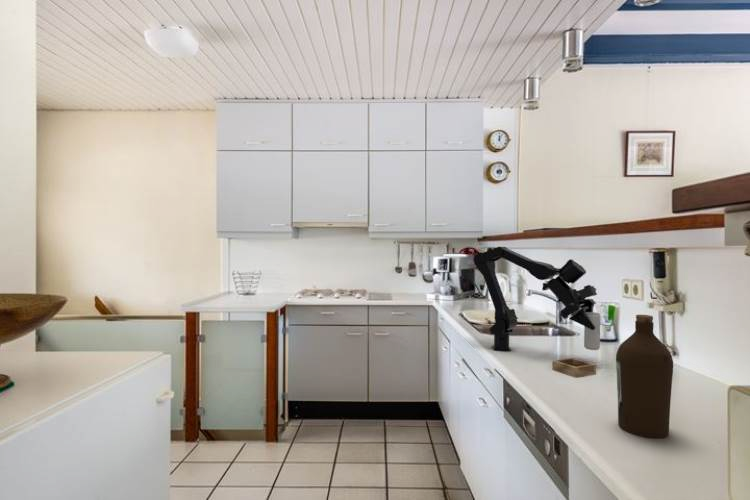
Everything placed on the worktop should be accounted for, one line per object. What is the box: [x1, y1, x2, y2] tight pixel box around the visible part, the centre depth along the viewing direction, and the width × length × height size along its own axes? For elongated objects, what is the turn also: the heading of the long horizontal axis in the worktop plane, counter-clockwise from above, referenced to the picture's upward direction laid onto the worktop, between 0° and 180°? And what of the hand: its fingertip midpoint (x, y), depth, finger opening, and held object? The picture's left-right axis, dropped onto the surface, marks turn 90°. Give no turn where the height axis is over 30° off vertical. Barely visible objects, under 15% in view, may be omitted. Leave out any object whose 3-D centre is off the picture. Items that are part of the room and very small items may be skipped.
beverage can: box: [583, 311, 602, 351], centre depth 142 cm, size 5×5×12 cm
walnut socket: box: [551, 357, 597, 378], centre depth 136 cm, size 9×9×3 cm
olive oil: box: [615, 314, 674, 439], centre depth 93 cm, size 11×11×25 cm
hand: (596, 328), depth 141 cm, fingers closed on beverage can, 5 cm apart
